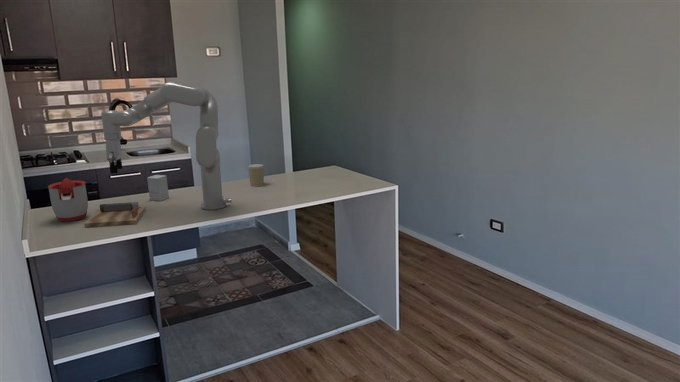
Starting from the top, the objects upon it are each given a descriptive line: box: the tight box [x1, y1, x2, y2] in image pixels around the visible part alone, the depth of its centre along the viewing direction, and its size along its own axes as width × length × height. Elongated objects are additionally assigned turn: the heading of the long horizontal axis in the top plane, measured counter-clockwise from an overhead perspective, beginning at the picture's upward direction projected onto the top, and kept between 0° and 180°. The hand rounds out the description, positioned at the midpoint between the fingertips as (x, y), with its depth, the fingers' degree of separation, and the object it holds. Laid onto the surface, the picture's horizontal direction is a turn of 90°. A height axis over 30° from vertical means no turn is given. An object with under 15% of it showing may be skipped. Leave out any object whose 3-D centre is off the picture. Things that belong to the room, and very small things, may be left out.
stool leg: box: [99, 201, 140, 212], centre depth 234 cm, size 18×3×3 cm, turn 101°
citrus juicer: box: [47, 177, 89, 223], centre depth 226 cm, size 16×17×20 cm
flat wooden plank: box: [83, 206, 147, 229], centre depth 227 cm, size 22×22×6 cm
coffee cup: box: [247, 163, 265, 188], centre depth 287 cm, size 9×9×12 cm
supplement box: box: [146, 174, 170, 202], centre depth 259 cm, size 7×7×13 cm
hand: (116, 171), depth 235 cm, fingers open, 9 cm apart
